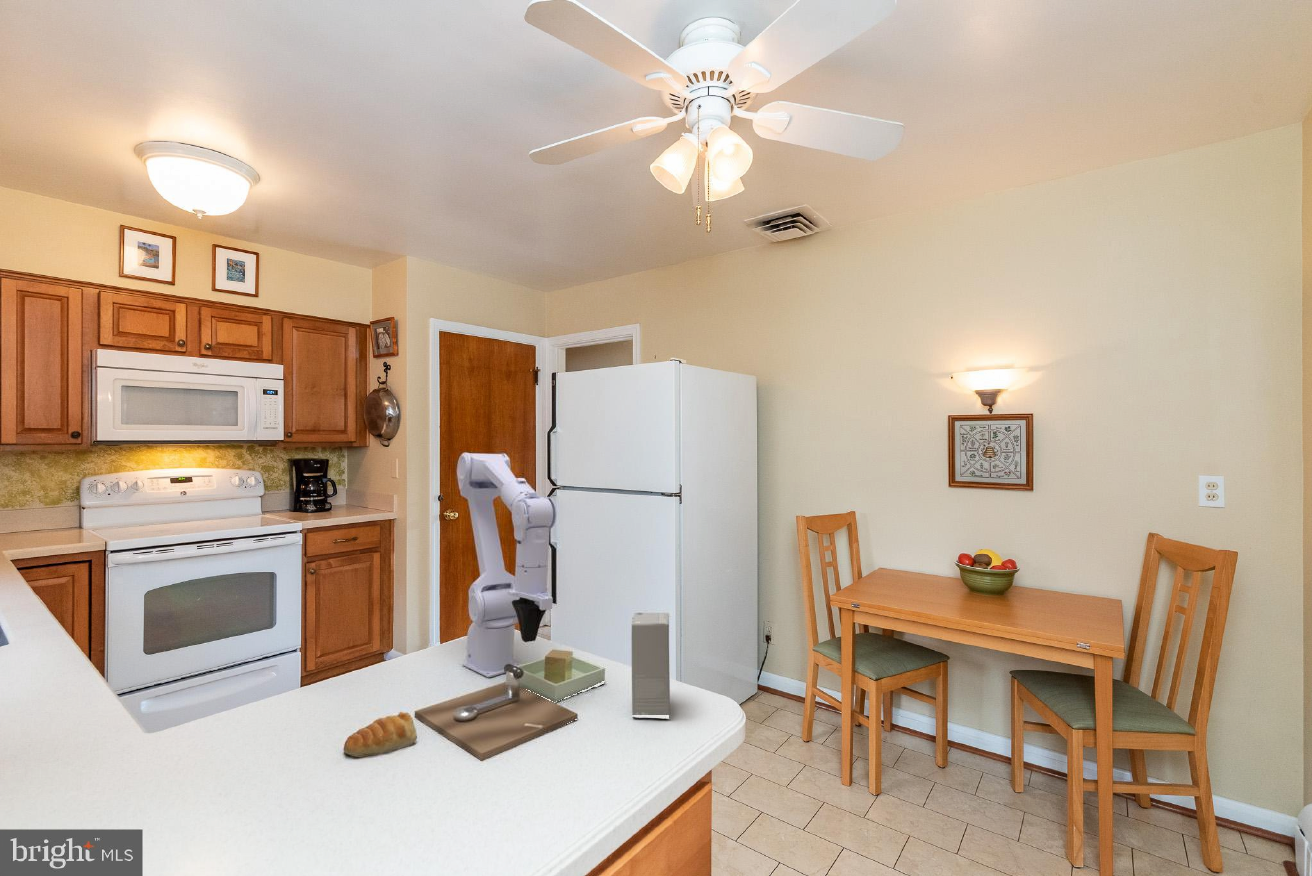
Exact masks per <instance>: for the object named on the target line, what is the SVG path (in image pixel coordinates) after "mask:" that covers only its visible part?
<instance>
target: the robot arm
mask: <svg viewBox="0 0 1312 876" xmlns="http://www.w3.org/2000/svg"><path fill="white" fill-rule="evenodd" d="M456 467H457V468H456V476H457V482H458V483H457V484H458V489H459V492H460V496H462V497H463V498H465V499H467V502H468V507H469V513H470V519H471V526H472V527H471V528H472V532H473V538H474V545H475V551H476V557H477V563H478V569H479V577H478V578H477V579H476V580H475V581H474V582H472V584H471V585H470V586H469V589H468V615H469V618H470V620H471V621H472V623H470V624H471V625H470V626H469V628H468V630H467V635H466V637H467V640H466V656H465V657H466V659H465V660H466V661H463V662H462V663H461V664H462V666H463V667H465V668H468V669H470V670H471V671H475V672H476V673H478V674H480V675H482V676H484V677H487V678H491V677H495V676H498V675H502V674H506V673H505V672H504V666H505V665H506V664H512V665H514V666H516V667H517V666H520V665H522V664H521V663H518V662H516V661H514V651H515V649H514V648H515V646H514V645H515V624H517V623H518V627H519V631H520V632H519V633H520V637H521V640H522V642H524V643H530V642H535V641H536V640H537V636H538V633H539V629H540V625H541V623H542V621H543V618H544V616H545V614H546V612H547V610H552V609H553V600H554V599H553V597H552V596H551V594H550V591H549V588H548V576H549V575H548V573H549V572H548V571H549V553H550V552H549V549H550V547H549V546H550V529H552V528H554V526H555V524H556V520H557V507H556V504H555V502H554V501H553V498H552V497H550V496H545V497H544V496H540V495H539V494H538V493H537V491H535V490H534V488H532V486H531V485H530V484H529V483H528V482H527V480H526V478H524V477H518V478H517V477H516V476H515V475H514V473H513V472H512V469H511V467H512V466H511V459H510V457H509V456H508V455H507V454H506V453H504V452H503V453H477V452H476V453H472V452H471V453H469V452H462V454H461V455H460V456H459V458H458V461H457V466H456ZM499 496H500V499H501V501H502V502H503V503H504V504H505V506H506V507H507V508H508V510H509V511H510V512H511V520H512V525H513V536H514V539H515V540H516V551H515V572H514V573H515V574H514V575H513V574H511V573H510V572H508V571H506V567H505V562H504V558H503V557H504V556H503V551H502V547H501V545H502V544H501V540H500V534H499V529H498V524H497V518H496V512H495V507H494V500H495V499H496V498H498V497H499Z"/></svg>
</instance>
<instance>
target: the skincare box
mask: <svg viewBox="0 0 1312 876" xmlns="http://www.w3.org/2000/svg"><path fill="white" fill-rule="evenodd" d="M631 618H632V619H631V620H632V621H631V704H632V705H631V710H632V711H631V713H632V714H631V715H670V716H671V689H670V688H671V685H670V683H671V682H670V614H669V612H635V613H633V617H631Z"/></svg>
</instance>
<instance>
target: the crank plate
mask: <svg viewBox="0 0 1312 876" xmlns="http://www.w3.org/2000/svg"><path fill="white" fill-rule="evenodd" d="M505 694H506V681H504V682H501V683H498V684H494V685H491V686H488V687H486V688H483V689H480V690H479V689H478V690H475V691H474V692H471V693H467V694H464V695H460V696H457V697H454V698H451V699H449V700H445V701H442V702H439V703H436V704H432V705H429V706H426V707H424V708H420V709H417V710H415V711H414V718H415V719H416V720H418V722H419V721H420V722H421V723H422V724H424V725H425V726H427V727H429V728H430V729H432V730H433V731H435V732H436V733H438V734H440V735H441V736H442V737H444V738H445V739H448V740H449V741H450V742H452V743H454V744H456V746H458V747H460V748H461V749H463V750H465V752H468V753H469V754H470V755H472V756H474V757H475V758H476V759H478V760H480V761H484V760H487V759H489V758H491V757H493V756H496V755H499V754H500V753H503V752H506V751H508V750H510V749H512V748H515V747H517V746H519V745H521V744H524V743H527V742H528V741H529V742H530V741H531V740H534V739H537V738H538V737H541V736H543V735H545V734H544V733H546V734H548V733H550V732H552V731H551V730H553V731H556V730H557V729H559V727H560V728H562V727H564V726H563V725H565V724H567V723H569V722H571V721H574V720H575V719H577V720H578V713H577V712H575V711H572V710H570V709H568V708H566V707H564V706H562V705H560V704H557V703H554V702H552V701H549V700H547V699H545V698H543V697H541V696H539V695H537V694H535V693H533V692H530V691H528V690H526V689H524V688H522V687H520V699H519V700H516V701H513V702H511V703H508V704H505V705H502V706H499V707H497V708H494V709H491V710H488V711H485V712H482V713H480V714H477V717H476V718H474V719H472V720H468V721H458V720H455V719H454V718H453V715H454V710H455V709H457V708H459V707H463V706H474V705H477V704H480V703H483V702H486V701H489V700H492V699H495V698H497V697H500V696H503V695H505ZM574 722H575V721H574ZM569 724H570V723H569ZM567 725H568V724H567ZM561 726H562V727H561ZM565 726H566V725H565ZM556 728H557V729H556ZM549 731H550V732H549ZM533 738H534V739H533Z"/></svg>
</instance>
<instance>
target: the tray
mask: <svg viewBox="0 0 1312 876" xmlns="http://www.w3.org/2000/svg"><path fill="white" fill-rule="evenodd" d="M517 667H518V668H521V669H522V670H523V671H524V675H523V677H522V678H521V681H520V687H522V688H524V689H527V690H530V691H531V692H534V693H536V694H539V695H540V696H543V697H545V698H547V699H550V700H551V701H553V702H556V701H559V700H561V699H564V698H565V697H568V696H572V695H573V694H576V693H578V692H580V691H582V690H585V689H588V688H589V687H592V686H594V685H596V684H598V683H601V682H602V681H605V680H606V679H605V678H606V675H605V674H606V668H604V667H602V666H600V665H598V664H595V663H592V662H590V661H588V660H585V659H581V658H579V657H576V656H574V655H573V658H572V678H571V679H569V680H567V681H564V682H561V683H558V684H554V683H552V682H550V681H548V680H545V679H544V669H545V657H544V658H539V659H537V660H534V661H531V662H527V663H523V664H521V665H520V666H517ZM605 682H606V681H605ZM559 702H560V701H559Z"/></svg>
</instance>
